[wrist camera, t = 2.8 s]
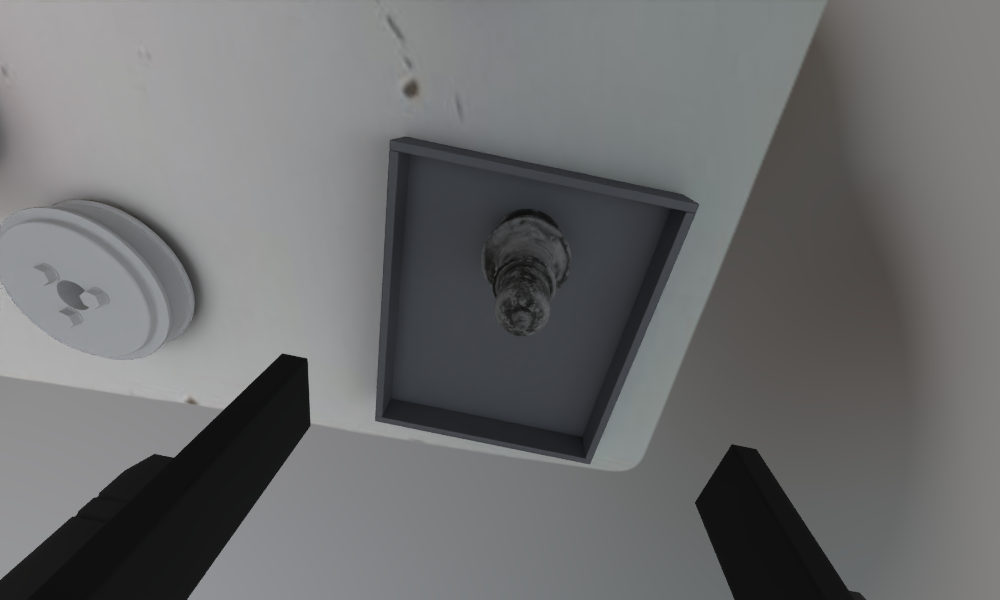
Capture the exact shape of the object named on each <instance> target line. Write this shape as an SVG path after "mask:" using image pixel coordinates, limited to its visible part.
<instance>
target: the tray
mask: <svg viewBox="0 0 1000 600" xmlns="http://www.w3.org/2000/svg"><path fill="white" fill-rule="evenodd" d="M698 206H699V204H698V203H696V202H694V201H693V200H691V199H689V198H688V197H686V196H685V195H682V194H677V193H673V192H668V191H663V190H658V189H654V188H649V187H644V186H639V185H634V184H630V183H625V182H620V181H615V180H610V179H606V178H601V177H596V176H591V175H586V174H582V173H577V172H572V171H567V170H563V169H558V168H553V167H548V166H543V165H539V164H534V163H529V162H524V161H519V160H515V159H510V158H505V157H500V156H495V155H491V154H486V153H481V152H476V151H472V150H467V149H462V148H457V147H452V146H448V145H443V144H438V143H433V142H428V141H424V140H419V139H414V138H409V137H401V138H397V139H392V140H390V151H389V169H388V188H387V207H386V226H385V245H384V264H383V283H382V302H381V321H380V340H379V359H378V378H377V397H376V416H375V421H378V422H383V423H388V424H393V425H398V426H403V427H408V428H413V429H417V430H422V431H427V432H432V433H437V434H442V435H447V436H452V437H457V438H462V439H467V440H472V441H477V442H482V443H487V444H492V445H497V446H502V447H507V448H512V449H517V450H521V451H526V452H531V453H536V454H541V455H546V456H551V457H556V458H561V459H566V460H571V461H576V462H581V463H586V464H590V462H591V460H592V458H593V456H594V453H595V451H596V449H597V446H598V444H599V441H600V439H601V437H602V434H603V432H604V430H605V427H606V425H607V422H608V420H609V418H610V415H611V413H612V411H613V408H614V406H615V403H616V401H617V399H618V396H619V394H620V392H621V389H622V387H623V385H624V382H625V380H626V377H627V375H628V373H629V370H630V368H631V366H632V363H633V361H634V358H635V356H636V354H637V351H638V349H639V347H640V344H641V342H642V339H643V337H644V335H645V332H646V330H647V328H648V325H649V323H650V320H651V318H652V316H653V313H654V311H655V309H656V306H657V304H658V302H659V299H660V297H661V294H662V292H663V290H664V287H665V285H666V283H667V280H668V278H669V275H670V273H671V271H672V268H673V266H674V264H675V261H676V259H677V256H678V254H679V252H680V249H681V247H682V245H683V242H684V240H685V238H686V235H687V233H688V230H689V228H690V226H691V223H692V221H693V219H694V216H695V213H696V211H697V209H698ZM520 209H534V210H538V211H541V212H543V213H545V214H547V215H549V216H550V217H551V218H552V219H553V220H554V221H555V222H556V223H557V225H558V226H559V228H560V230H561V232H562V234H563V235H564V237H565V239H566V241H567V242H568V244H569V247H570V252H571V256H572V260H571V270H570V273H569V276H568V278H567V280H566V281H565V283H564V284H563V286H562V287H561V288H560V289H559V290H558V291H557V292H556V293H555V295H554V298H553V299H552V301H551V313H550V316H549V319H548V322H547V323H546V325H545V326H544V327H543V328H542V329H541V330H540V331H539V332H537V333H535V334H533V335H529V336H516V335H512V334H510V333H508V332H506V331H505V330H504V329H502V328H501V326H500V325H499V324H498V322H497V319H496V316H495V310H494V306H495V301H496V299H495V297H494V294H493V289H492V288H491V287H490V285H489V284H488V282H487V281H486V279H485V277H484V275H483V272H482V269H481V253H482V248H483V245H484V243H485V241H486V239H487V237H488V236H489V235H490V233H491V232H492V231H493V230H494V229H495V227H496V225H497V224H498V222H499V221H500V220H501V219H502V218H503V217H504V216H506V215H508V214H509V213H511V212H513V211H517V210H520Z"/></svg>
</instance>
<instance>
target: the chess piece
mask: <svg viewBox="0 0 1000 600" xmlns="http://www.w3.org/2000/svg"><path fill="white" fill-rule="evenodd" d="M571 260H572V256H571V252H570V247H569V244H568V242H567V241H566V239H565V237H564V235H563V234H562V232H561V230H560V228H559V226H558V225H557V223H556V222H555V221H554V220H553V219H552V218H551V217H550V216H549V215H547V214H545V213H543V212H541V211H538V210H534V209H520V210H517V211H513V212H511V213H509V214H508V215H506V216H504V217H503V218H502V219H501V220H500V221H499V222H498V224H497V225H496V227H495V229H494V230H493V231H492V232H491V233H490V235H489V236H488V237H487V239H486V241H485V243H484V245H483V248H482V253H481V269H482V272H483V275H484V277H485V279H486V281H487V282H488V284H489V285H490V287H491V288H492V289H493V294H494V297H495V299H496V301H495V306H494V310H495V316H496V319H497V322H498V324H499V325H500V326H501V328H502V329H504V330H505V331H506V332H508V333H510V334H512V335H516V336H529V335H533V334H535V333H537V332H539V331H540V330H541V329H542V328H543V327H544V326H545V325H546V323H547V322H548V319H549V316H550V313H551V301H552V299H553V298H554V295H555V293H556V292H557V291H558V290H559V289H560V288H561V287H562V286H563V284H564V283H565V281H566V280H567V278H568V276H569V273H570V270H571Z"/></svg>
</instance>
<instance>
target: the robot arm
mask: <svg viewBox="0 0 1000 600" xmlns="http://www.w3.org/2000/svg"><path fill="white" fill-rule="evenodd" d="M309 427H310V405H309V383H308V362H307V358H302V357H297V356H292V355H287V354H281V355H280V356H279V357H278V358H277V359H276V360H275V361H274V362H273V363H272V364H271V365H270V366H269V367H268V368H267V369H266V370H265V371H264V372H263V373H262V374H261V375H260V376H259V377H257V378H256V379H255V380H254V381H253V382H252V383H251V384H250V385H249V386H248V387H247V388H246V389H245V390H244V391H243V392H242V393H241V394H240V395H239V396H238V397H237V398H236V399H235V400H234V401H233V402H232V403H230V404H229V405H228V406H227V407H226V408H225V409H224V410H223V411H222V412H221V413H220V414H219V415H218V416H217V417H216V418H215V419H214V420H213V421H212V422H211V423H210V424H209V425H208V426H207V427H206V428H205V429H204V430H202V431H201V432H200V433H199V434H198V435H197V436H196V437H195V438H194V439H193V440H192V441H191V442H190V443H189V444H188V445H187V446H186V447H185V448H184V449H183V450H182V451H181V452H180V453H179V454H178V455H177V456H176V457H174V458H172V457H167V456H162V455H156V454H154V455H152V456H150V457H148V458H147V459H145V460H143V461H141V462H139V463H138V464H136V465H134V466H132V467H130V468H129V469H127V470H125V471H124V472H123V473H121V474H120V475H119V476H118V477H117V478H116V479H115V480H114V481H112V482H111V483H110V484H109V485H108V486H107V487H106V488H104V489H103V490H102V491H101V492H100V493H99V496H98V497H96V498H93V499H92V500H91V501H90V502H89V503H87V504H86V505H85V506H84V507H83V508H82V509H81V510H79V512H78V514H77V515H76V516H75V517H72V518H70V519H69V520H68V521H67V522H66V523H65V524H63V525H62V526H61V527H60V528H59V529H58V530H57V531H55V532H54V533H53V534H52V535H51V536H50V537H49V538H48V539H46V540H45V541H44V542H43V543H42V544H41V545H40V546H38V547H37V548H36V549H35V550H34V551H33V552H32V553H30V554H29V555H28V556H27V557H26V558H25V559H24V560H23V561H21V562H20V563H19V564H18V565H17V566H16V567H15V568H13V569H12V570H11V571H10V572H9V573H8V574H7V575H5V576H4V577H3V578H2V579H1V580H0V600H187V599H188V597H189V596H190V594H191V593H192V592H193V590H194V589H195V587H196V586H197V585H198V583H199V582H200V580H201V579H202V578H203V576H204V575H205V573H206V572H207V570H208V569H209V567H210V566H211V565H212V563H213V562H214V560H215V559H216V558H217V556H218V555H219V554H220V552H221V551H222V549H223V548H224V547H225V545H226V544H227V542H228V541H229V540H230V538H231V537H232V535H233V534H234V533H235V531H236V530H237V528H238V527H239V525H240V524H241V522H242V521H243V520H244V518H245V517H246V516H247V514H248V513H249V511H250V510H251V508H252V507H253V506H254V504H255V503H256V501H257V500H258V499H259V497H260V496H261V494H262V493H263V491H264V490H265V489H266V488H267V486H268V485H269V483H270V482H271V480H272V479H273V478H274V476H275V475H276V473H277V472H278V471H279V469H280V468H281V466H282V465H283V463H284V462H285V461H286V459H287V458H288V456H289V455H290V453H291V452H292V451H293V449H294V448H295V447H296V445H297V444H298V442H299V441H300V440H301V438H302V437H303V435H304V434H305V433H306V431H307V430H308V428H309ZM695 504H696V506H697V509H698V511H699V514H700V516H701V519H702V521H703V524H704V526H705V528H706V530H707V533H708V536H709V538H710V541H711V543H712V545H713V548H714V550H715V553H716V555H717V558H718V560H719V563H720V565H721V567H722V570H723V573H724V575H725V577H726V580H727V582H728V585H729V587H730V589H731V592H732V594H733V597H734V599H735V600H866V599H865V598H864V597H863V596H862V595H861V594H860V593H858V592H852V591H849V590H848V589H847V587H846V586H845V584H844V583H843V581H842V580H841V578H840V577H839V575H838V573H837V572H836V570H835V569H834V567H833V566H832V564H831V563H830V561H829V560H828V558H827V557H826V555H825V554H824V552H823V551H822V549H821V547H820V546H819V544H818V543H817V542H816V540H815V538H814V537H813V536H812V534H811V532H810V531H809V529H808V528H807V526H806V525H805V523H804V521H803V520H802V518H801V517H800V515H799V514H798V512H797V511H796V509H795V508H794V506H793V505H792V503H791V502H790V500H789V498H788V497H787V495H786V494H785V493H784V491H783V489H782V488H781V487H780V485H779V483H778V482H777V480H776V479H775V477H774V476H773V474H772V472H771V471H770V469H769V468H768V466H767V465H766V463H765V462H764V460H763V459H762V457H761V456H760V454H759V453H758V451H757V450H756V449H752V448H747V447H742V446H737V445H731V447H730V448H729V450H728V451H727V453H726V455H725V456H724V458H723V459H722V461H721V462H720V464H719V466H718V467H717V469H716V470H715V472H714V473H713V475H712V477H711V478H710V480H709V481H708V483H707V485H706V486H705V488H704V489H703V491H702V492H701V494H700V496H699V497H698V499H697V500H696V502H695Z"/></svg>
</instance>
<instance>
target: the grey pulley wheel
mask: <svg viewBox="0 0 1000 600" xmlns="http://www.w3.org/2000/svg"><path fill="white" fill-rule="evenodd" d="M0 279H1V282H2V284H3V286H4V288H5V289H6V291H7V293H8V294H9V296H10V297H11V299H12V300H13V302H14V303H15V304H16V305H17V307H18V308H19V309H20V310H21V311H22V312H23V313H24V314H25V315H26V316H27V317H28V318H29V319H30V320H31V321H32V322H33V323H34V324H35V325H37V326H38V327H39V328H40V329H41V330H43V331H44V332H46V333H47V334H49V335H50V336H51V337H53V338H55V339H56V340H58V341H60V342H61V343H63V344H65V345H67V346H70V347H72V348H74V349H77V350H79V351H82V352H85V353H89V354H92V355H97V356H101V357H105V358H110V359H117V360H133V359H138V358H143V357H145V356H148V355H150V354H152V353H153V352H155V351H156V350H158V349H159V348H160V347H161V346H162V345H163V344H164V343H165V342H168V341H171V340H173V339H175V338H177V337H178V336H180V335H181V334H182V333H183V332H185V330H186V329H187V328H188V327H189V325H190V323H191V321H192V318H193V315H194V308H195V301H194V293H193V289H192V285H191V282H190V280H189V277H188V275H187V273H186V271H185V269H184V267H183V265H182V264H181V262H180V261H179V259H178V258H177V256H176V255H175V254H174V252H173V251H172V250H171V249H170V248H169V246H168V245H167V244H166V243H165V242H164V241H163V240H162V239H161V238H160V237H159V236H158V235H157V234H156V233H155V232H153V231H152V230H151V229H150V228H149V227H147V226H146V225H145V224H143V223H142V222H140V221H139V220H137V219H136V218H134V217H132V216H131V215H129V214H127V213H125V212H124V211H121V210H119V209H117V208H115V207H112V206H109V205H106V204H103V203H100V202H95V201H89V200H70V201H64V202H60V203H57V204H54V205H53V206H51V207H35V208H29V209H24V210H21V211H19V212H16V213H14V214H12V215H11V216H10V217H8V218H7V219H6V220H5V221H4V223H3V224H2V225H1V227H0Z"/></svg>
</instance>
